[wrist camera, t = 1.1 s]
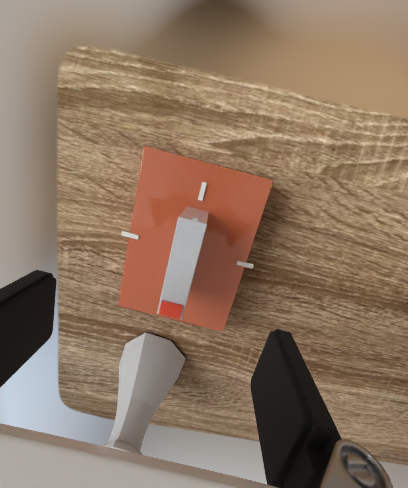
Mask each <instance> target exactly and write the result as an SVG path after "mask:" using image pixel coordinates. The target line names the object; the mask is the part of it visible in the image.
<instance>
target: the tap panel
mask: <svg viewBox="0 0 408 488" xmlns="http://www.w3.org/2000/svg"><path fill="white" fill-rule="evenodd" d="M272 184H273V180H270V179H266V178H263V177H259V176H255V175H251V174H248V173H244V172H240V171H236V170H233V169H229V168H225V167H221V166H218V165H214V164H210V163H206V162H203V161H199V160H195V159H192V158H188V157H184V156H180V155H177V154H173V153H169V152H165V151H162V150H158V149H154V148H150V147H147V146H144V148H143V155H142V161H141V167H140V173H139V179H138V186H137V192H136V198H135V204H134V210H133V217H132V223H131V229H130V233H129V232H125V231H122V233H121V235H122V236H126V237H129V241H128V248H127V254H126V260H125V266H124V273H123V279H122V285H121V291H120V297H119V304H118V306H121V307H125V308H129V309H133V310H137V311H141V312H145V313H149V314H153V315H157V316H162V317H166V318H170V319H174V320H178V321H182V322H186V323H190V324H194V325H198V326H202V327H206V328H210V329H214V330H218V331H224V328H225V325H226V322H227V319H228V316H229V313H230V310H231V307H232V304H233V301H234V298H235V295H236V292H237V289H238V286H239V283H240V280H241V277H242V274H243V271H244V268H245V267H248V268H252V269H253V266H254V264H250V263H246V262H247V259H248V256H249V253H250V250H251V247H252V244H253V241H254V238H255V235H256V232H257V229H258V226H259V223H260V220H261V217H262V214H263V211H264V208H265V205H266V202H267V199H268V196H269V193H270V190H271V187H272ZM187 206H188V207H192V208H196V209H200V210H203V211H207V212H209V216H208V222H207V227H206V231H205V235H204V238H203V242H202V246H201V250H200V254H199V257H198V261H197V265H196V269H195V273H194V276H193V280H192V284H191V288H190V292H189V295H188V299H187V303H186V307H185V310H184V314H183V318H182V320H181V319H177V318H173V317H169V316H164V315H160V314H157V310H158V306H159V301H160V297H161V292H162V288H163V283H164V279H165V274H166V270H167V265H168V261H169V256H170V252H171V247H172V243H173V238H174V234H175V229H176V225H177V220H178V217H179V216H180V214H181V213H182V212H183V211H184V210H185V208H186V207H187Z"/></svg>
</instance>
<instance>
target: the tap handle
mask: <svg viewBox="0 0 408 488" xmlns="http://www.w3.org/2000/svg"><path fill="white" fill-rule="evenodd" d="M208 216H209V212H207V211H203V210H200V209H196V208H192V207H188V206H187V207H186V208H185V210H184V211H183V212H182V213H181V214H180V216H179V217H178V220H177V225H176V229H175V234H174V238H173V243H172V247H171V252H170V256H169V261H168V265H167V270H166V274H165V279H164V283H163V288H162V292H161V297H160V301H159V306H158V310H157V314H160V315H164V316H169V317H173V318H177V319H181V320H182V318H183V314H184V310H185V307H186V303H187V299H188V295H189V292H190V288H191V284H192V280H193V276H194V273H195V269H196V265H197V261H198V257H199V254H200V250H201V246H202V242H203V238H204V235H205V231H206V227H207V222H208Z"/></svg>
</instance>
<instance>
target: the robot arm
mask: <svg viewBox="0 0 408 488" xmlns="http://www.w3.org/2000/svg"><path fill="white" fill-rule="evenodd" d="M55 291H56V279H55V278H53V275H52V274H51V273H47V272H44V271H39V270H36V271H33V272H31V273H29V274H28V275H26V276H24V277H22V278H20V279H19V280H17V281H15V282H13V283H11V284H9V285H7V286H5V287H3V288H1V289H0V387H1V386H2V385H3V384H4V383H5V382H6V381H7V380H8V379H9V378H10V377H11V376H12V375H13V374H14V373H15V372H16V371H17V370H18V369H19V368H20V367H21V366H22V365H23V364H24V363H25V362H26V361H27V360H28V359H29V358H30V357H31V356H32V355H33V354H34V353H35V352H36V351H37V350H38V349H39V348H40V347H41V346H42V345H43V344H44V343H45V342H46V341H47V340H48V339H49V338H50V336H51V334H52V331H53V319H54V305H55ZM251 393H252V399H253V404H254V410H255V416H256V422H257V428H258V434H259V440H260V445H261V451H262V457H263V463H264V468H265V474H266V480H267V484H268V485H266V484H262V483H258V482H254V481H251V480H247V479H243V478H239V477H235V476H231V475H226V474H222V473H217V472H213V471H209V470H205V469H200V468H196V467H191V466H187V465H183V464H179V463H174V462H170V461H165V460H161V459H157V458H153V457H148V456H144V455H140V454H135V453H131V452H126V451H122V450H117V449H113V448H109V447H104V446H99V445H95V444H91V443H86V442H82V441H77V440H73V439H68V438H64V437H59V436H55V435H50V434H46V433H41V432H36V431H32V430H27V429H23V428H18V427H13V426H9V425H4V424H0V488H393V486H392V483H391V481H390V478H389V476H388V474H387V473H386V471H385V470H384V468H383V467H382V465H381V464H380V463H379V462H378V461H377V459H376V458H375V457H374V456H373V455H372V454H371V453H370V452H369V451H367V450H366V449H365V448H364V447H362V446H361V445H359V444H358V443H356V442H353V441H351V440H347V439H341V437H340V435H339V433H338V431H337V428H336V426H335V424H334V422H333V420H332V418H331V416H330V414H329V411H328V409H327V407H326V405H325V403H324V401H323V399H322V397H321V395H320V393H319V391H318V389H317V387H316V385H315V382H314V380H313V378H312V376H311V374H310V372H309V370H308V368H307V366H306V364H305V362H304V360H303V358H302V356H301V353H300V351H299V349H298V347H297V345H296V343H295V341H294V339H293V337H292V335H291V333H290V332H287V331H283V330H279V329H276V330H275V331H274V332H273V331H271V332H270V334H269V336H268V339H267V341H266V344H265V346H264V349H263V351H262V354H261V356H260V359H259V361H258V364H257V366H256V369H255V371H254V374H253V376H252V379H251Z"/></svg>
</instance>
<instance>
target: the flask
mask: <svg viewBox="0 0 408 488" xmlns="http://www.w3.org/2000/svg"><path fill="white" fill-rule="evenodd" d="M185 359H186V358H185V357H184V356H183V355H182V354H181V352H180V351H179V350H178V349H177V348H176V346H175V345H174V344H173V343H172V342H171V341H170V340H167V339H164V338H161V337H158V336H155V335H152V334H149V333H144V334H142V335H140V336H139V337H137V338H135V339H133V340H132V341H130V342H128V343H126V344H125V348H124V351H123V354H122V358H121V361H120V367H119V391H118V404H117V414H116V418H115V423H114V427H113V431H112V434H111V436H110V439H109V441H108V443H107V444H105V445H104V447H109V448H113V449H117V450H122V451H126V452H131V453H135V454H140V455H142V453H141V452H140V448H141V445H142V441H143V438H144V434H145V432H146V430H147V427H148V425H149V423H150V421H151V419H152V417H153V416H154V414H155V413H156V411H157V409H158V408H159V406H160V404H161V403H162V401H163V400H164V398H165V397H166V395H167V394H168V392H169V391H170V389H171V388H172V386H173V385H174V383H175V382H176V380H177V378H178V377H179V374H180V372H181V369H182V367H183V364H184V362H185Z"/></svg>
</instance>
